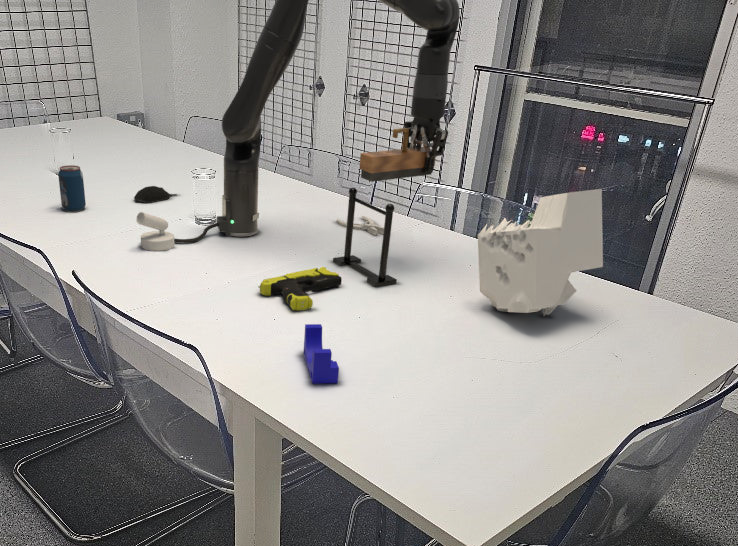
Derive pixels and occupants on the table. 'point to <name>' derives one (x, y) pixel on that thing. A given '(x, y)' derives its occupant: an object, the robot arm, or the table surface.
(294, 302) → the stun gun
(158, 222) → the white spotlight lamp
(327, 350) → the blue stepped block
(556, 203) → the jagged cream rock lump
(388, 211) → the black hurdle stand
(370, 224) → the pliers
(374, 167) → the scrub brush
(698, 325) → the table surface
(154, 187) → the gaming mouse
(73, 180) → the soda can
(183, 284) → the table surface
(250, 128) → the robot arm
